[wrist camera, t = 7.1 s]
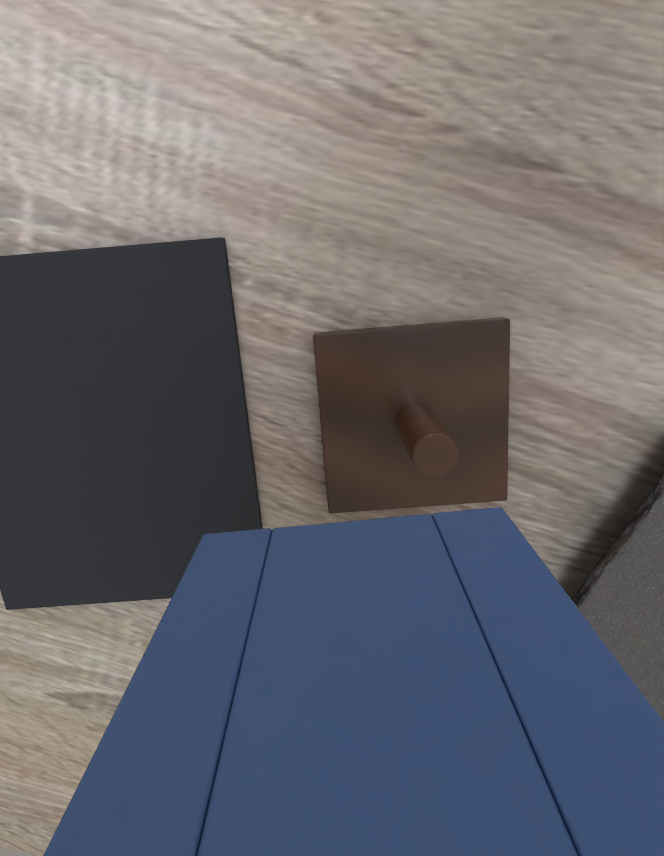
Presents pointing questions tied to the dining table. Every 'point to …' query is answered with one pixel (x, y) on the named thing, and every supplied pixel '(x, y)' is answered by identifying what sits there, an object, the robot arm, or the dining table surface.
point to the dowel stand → (414, 414)
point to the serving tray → (633, 598)
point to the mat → (118, 420)
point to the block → (374, 707)
